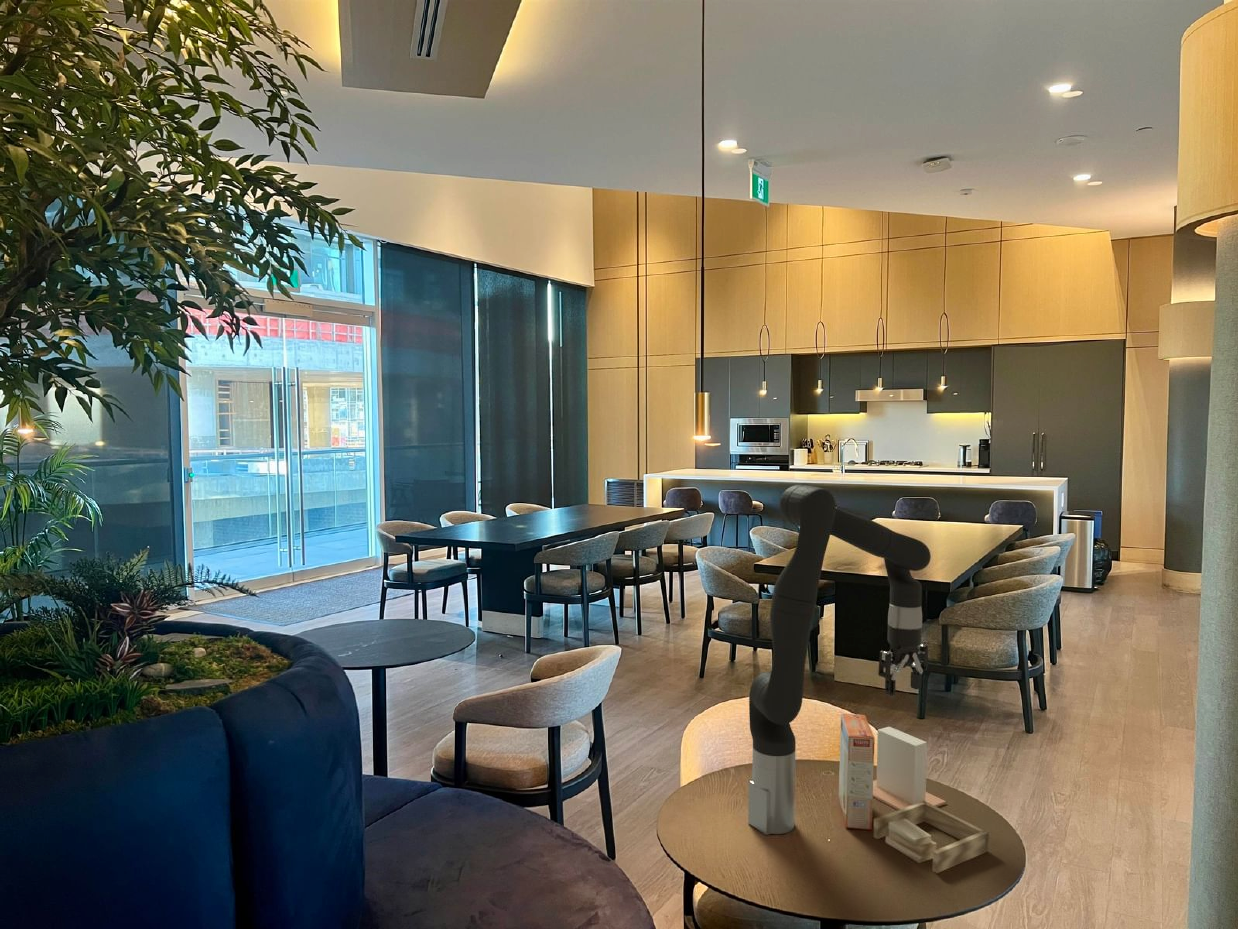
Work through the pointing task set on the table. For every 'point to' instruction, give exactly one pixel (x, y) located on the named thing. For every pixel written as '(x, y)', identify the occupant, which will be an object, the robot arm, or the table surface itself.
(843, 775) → the cracker box
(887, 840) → the offcut stack
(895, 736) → the white block
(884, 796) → the terracotta tile
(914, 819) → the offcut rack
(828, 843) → the table surface
